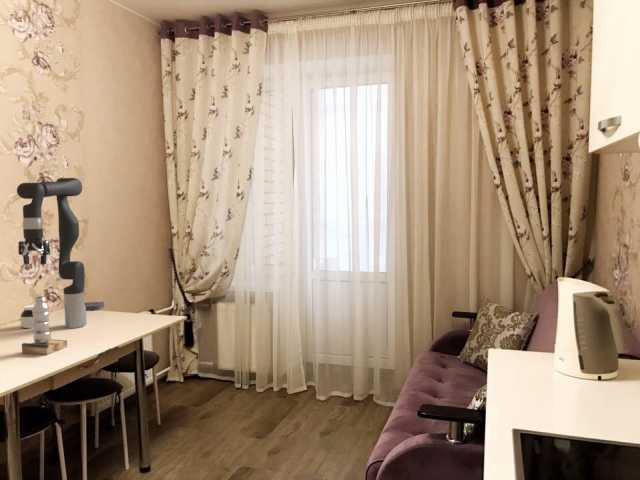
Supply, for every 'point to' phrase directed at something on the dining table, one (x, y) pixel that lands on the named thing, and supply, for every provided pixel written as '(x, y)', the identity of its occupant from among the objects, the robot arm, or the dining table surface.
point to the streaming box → (94, 305)
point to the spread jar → (27, 317)
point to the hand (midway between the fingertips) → (35, 264)
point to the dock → (44, 347)
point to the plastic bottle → (41, 321)
